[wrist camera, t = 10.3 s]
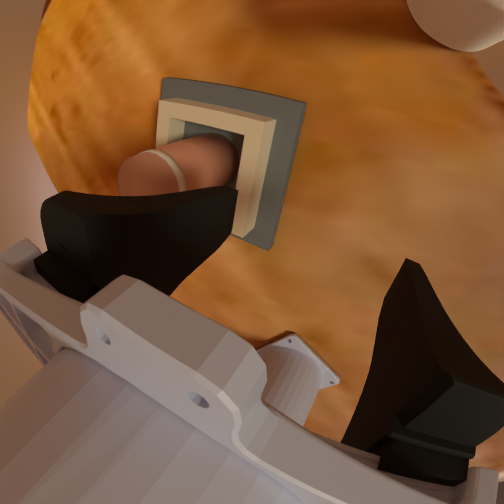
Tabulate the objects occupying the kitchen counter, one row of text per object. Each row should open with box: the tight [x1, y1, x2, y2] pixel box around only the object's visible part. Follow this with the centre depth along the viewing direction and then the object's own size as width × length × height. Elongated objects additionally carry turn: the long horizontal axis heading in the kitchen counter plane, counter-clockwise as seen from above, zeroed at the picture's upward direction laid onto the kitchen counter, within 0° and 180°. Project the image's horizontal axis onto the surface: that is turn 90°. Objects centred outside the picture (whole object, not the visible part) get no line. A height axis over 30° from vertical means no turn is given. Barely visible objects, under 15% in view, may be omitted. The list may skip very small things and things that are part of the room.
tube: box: [118, 133, 239, 196], centre depth 20 cm, size 4×4×8 cm
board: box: [156, 77, 307, 251], centre depth 23 cm, size 12×12×3 cm
